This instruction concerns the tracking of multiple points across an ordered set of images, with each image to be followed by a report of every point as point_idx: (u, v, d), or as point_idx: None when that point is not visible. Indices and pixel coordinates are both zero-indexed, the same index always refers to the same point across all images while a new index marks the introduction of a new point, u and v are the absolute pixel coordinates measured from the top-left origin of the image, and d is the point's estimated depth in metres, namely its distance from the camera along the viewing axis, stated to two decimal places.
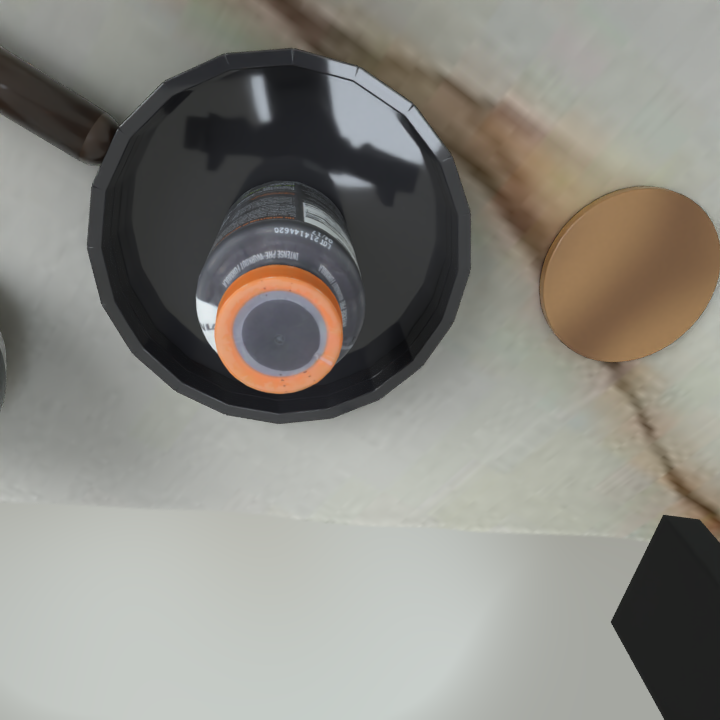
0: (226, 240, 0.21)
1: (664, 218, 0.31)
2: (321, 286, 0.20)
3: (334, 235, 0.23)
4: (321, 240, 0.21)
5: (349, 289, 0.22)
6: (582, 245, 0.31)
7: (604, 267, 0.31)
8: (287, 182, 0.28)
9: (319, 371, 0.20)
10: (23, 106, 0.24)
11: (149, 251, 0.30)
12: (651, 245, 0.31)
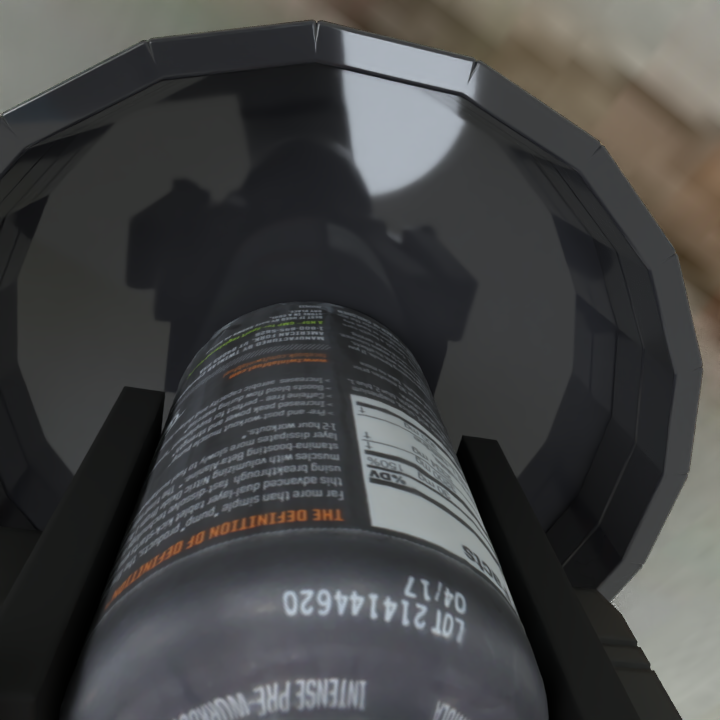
0: (132, 621, 0.07)
1: None
2: None
3: (454, 537, 0.08)
4: (435, 619, 0.07)
5: None
6: None
7: None
8: (307, 309, 0.13)
9: None
10: None
11: (40, 439, 0.15)
12: None
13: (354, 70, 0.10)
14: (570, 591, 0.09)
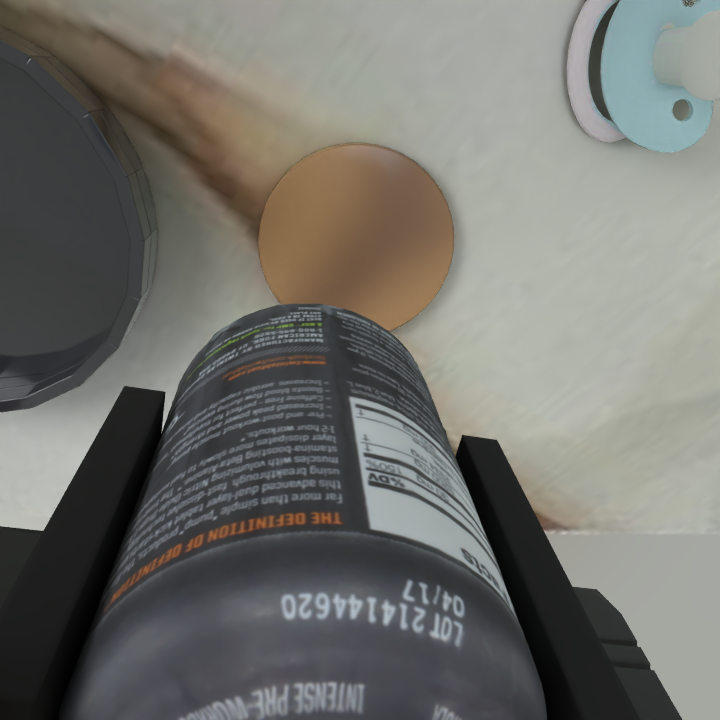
0: (131, 624, 0.07)
1: (377, 177, 0.28)
2: None
3: (452, 540, 0.08)
4: (433, 623, 0.07)
5: None
6: (292, 210, 0.28)
7: (322, 233, 0.29)
8: (306, 311, 0.13)
9: None
10: None
11: None
12: (369, 207, 0.29)
13: None
14: (570, 591, 0.09)
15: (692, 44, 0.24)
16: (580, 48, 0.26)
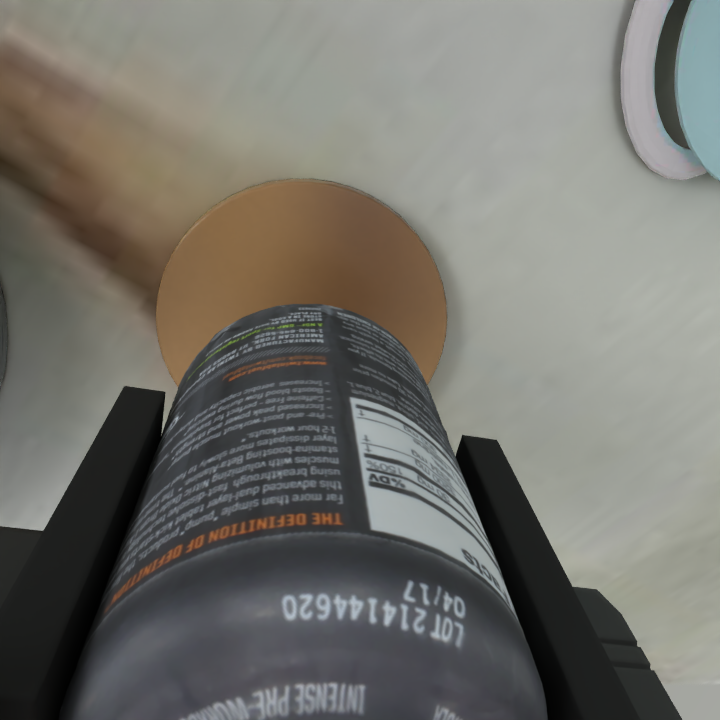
0: (131, 625, 0.07)
1: (331, 230, 0.19)
2: None
3: (453, 541, 0.08)
4: (434, 623, 0.07)
5: None
6: (204, 278, 0.19)
7: (251, 311, 0.20)
8: (306, 311, 0.13)
9: None
10: None
11: None
12: (321, 274, 0.19)
13: None
14: (570, 591, 0.09)
15: None
16: (644, 37, 0.17)
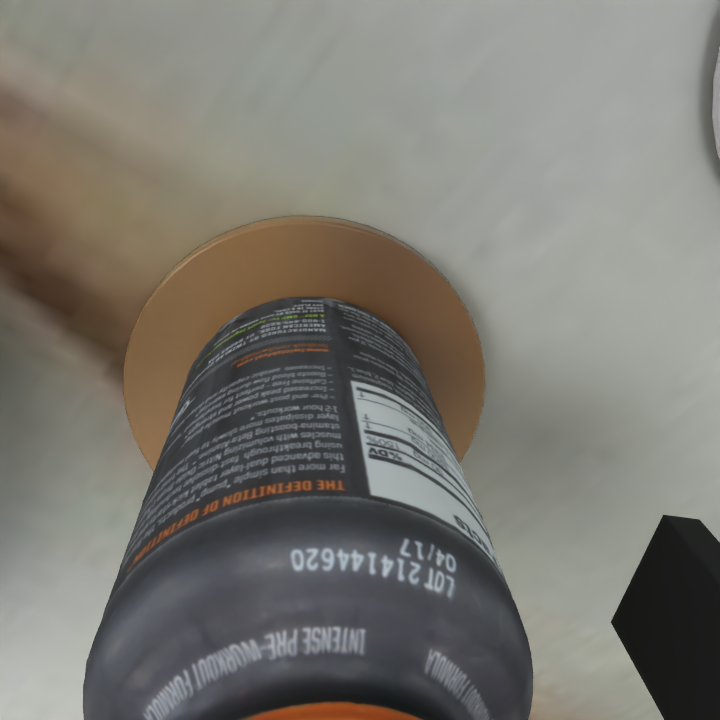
0: (154, 578, 0.07)
1: (343, 280, 0.15)
2: None
3: (446, 508, 0.09)
4: (428, 575, 0.07)
5: (505, 691, 0.08)
6: (183, 340, 0.15)
7: None
8: (309, 303, 0.14)
9: None
10: None
11: None
12: None
13: None
14: None
15: None
16: None
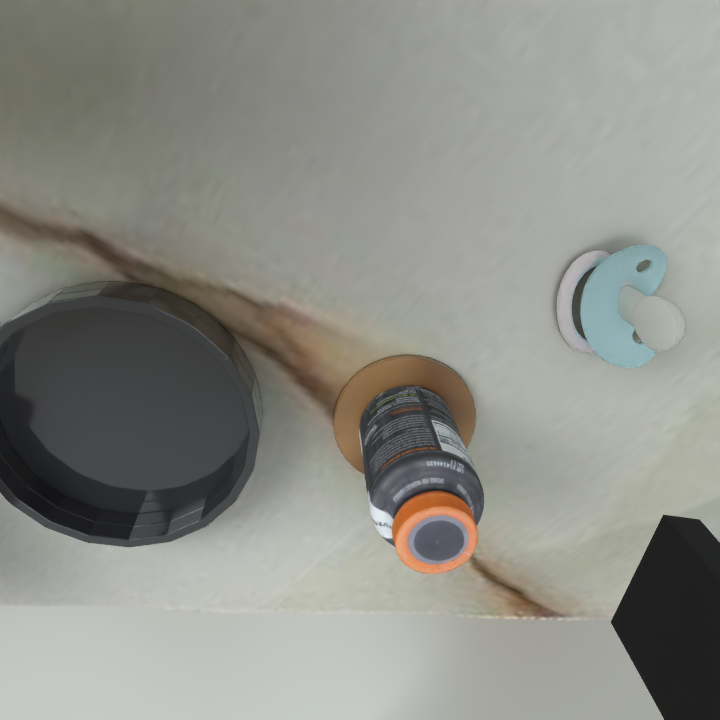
0: (393, 469, 0.32)
1: (421, 378, 0.39)
2: (463, 506, 0.30)
3: (461, 455, 0.33)
4: (457, 467, 0.32)
5: (475, 497, 0.32)
6: (359, 401, 0.40)
7: None
8: (410, 389, 0.38)
9: (462, 560, 0.31)
10: None
11: (22, 421, 0.39)
12: None
13: (110, 307, 0.34)
14: None
15: (641, 311, 0.35)
16: (565, 297, 0.38)
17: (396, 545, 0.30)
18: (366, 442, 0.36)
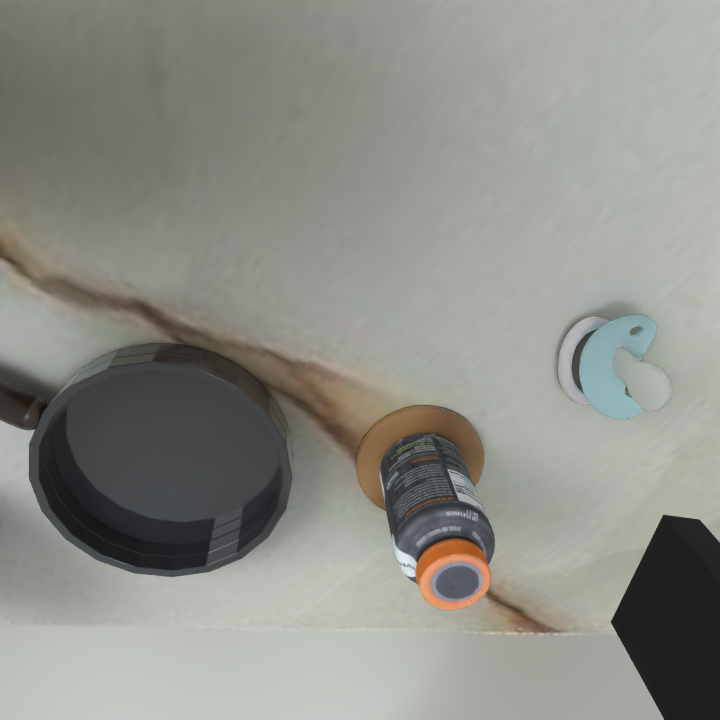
0: (416, 517, 0.36)
1: (435, 426, 0.44)
2: (478, 552, 0.35)
3: (475, 503, 0.38)
4: (472, 517, 0.36)
5: (488, 542, 0.37)
6: (380, 446, 0.44)
7: None
8: (426, 437, 0.43)
9: (477, 598, 0.35)
10: None
11: (76, 465, 0.43)
12: None
13: (164, 371, 0.38)
14: None
15: (633, 374, 0.39)
16: (566, 356, 0.42)
17: (420, 586, 0.35)
18: (388, 487, 0.41)
